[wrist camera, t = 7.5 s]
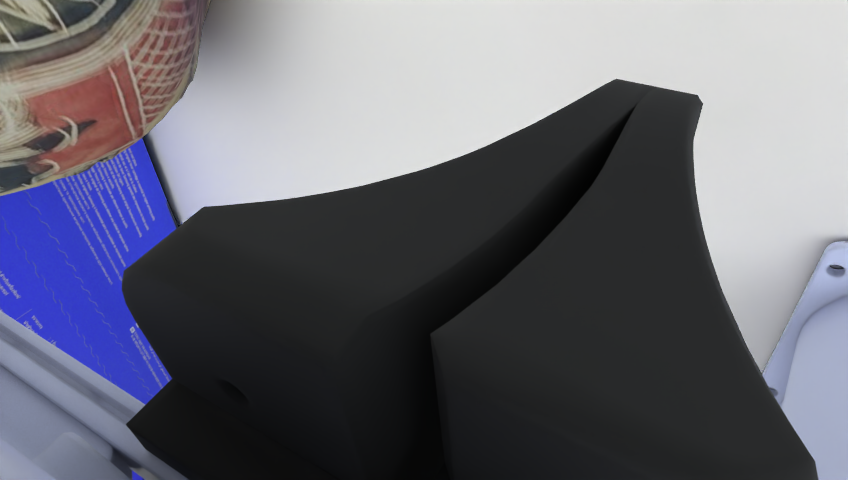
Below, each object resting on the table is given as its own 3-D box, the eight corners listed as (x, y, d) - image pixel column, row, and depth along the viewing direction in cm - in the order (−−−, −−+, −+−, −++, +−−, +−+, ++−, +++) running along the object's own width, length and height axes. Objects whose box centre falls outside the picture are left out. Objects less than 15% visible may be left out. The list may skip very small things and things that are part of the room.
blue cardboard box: (31, 11, 39) (-332, 159, 28) (118, 47, 36) (-250, 228, 25) (187, 348, 67) (35, 489, 56) (243, 384, 64) (94, 541, 53)
